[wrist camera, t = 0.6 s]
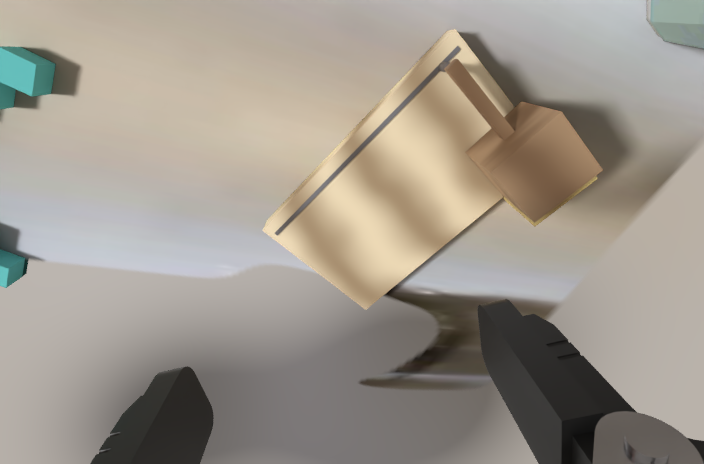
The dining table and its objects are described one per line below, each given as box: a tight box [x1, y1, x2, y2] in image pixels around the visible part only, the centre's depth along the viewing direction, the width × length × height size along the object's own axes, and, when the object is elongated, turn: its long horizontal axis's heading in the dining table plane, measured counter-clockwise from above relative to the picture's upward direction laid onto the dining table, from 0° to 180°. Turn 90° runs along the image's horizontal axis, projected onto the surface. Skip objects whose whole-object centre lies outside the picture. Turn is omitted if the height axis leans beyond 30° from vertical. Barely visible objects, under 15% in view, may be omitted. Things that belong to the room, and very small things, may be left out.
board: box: [263, 29, 515, 310], centre depth 29 cm, size 20×12×2 cm, turn 136°
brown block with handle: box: [438, 59, 603, 226], centre depth 24 cm, size 5×13×7 cm, turn 46°
